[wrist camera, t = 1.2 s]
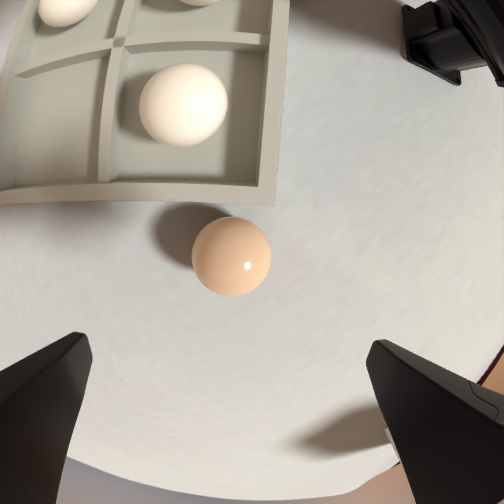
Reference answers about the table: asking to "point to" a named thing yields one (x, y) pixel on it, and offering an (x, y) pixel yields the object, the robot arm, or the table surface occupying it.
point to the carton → (127, 103)
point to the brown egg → (231, 256)
